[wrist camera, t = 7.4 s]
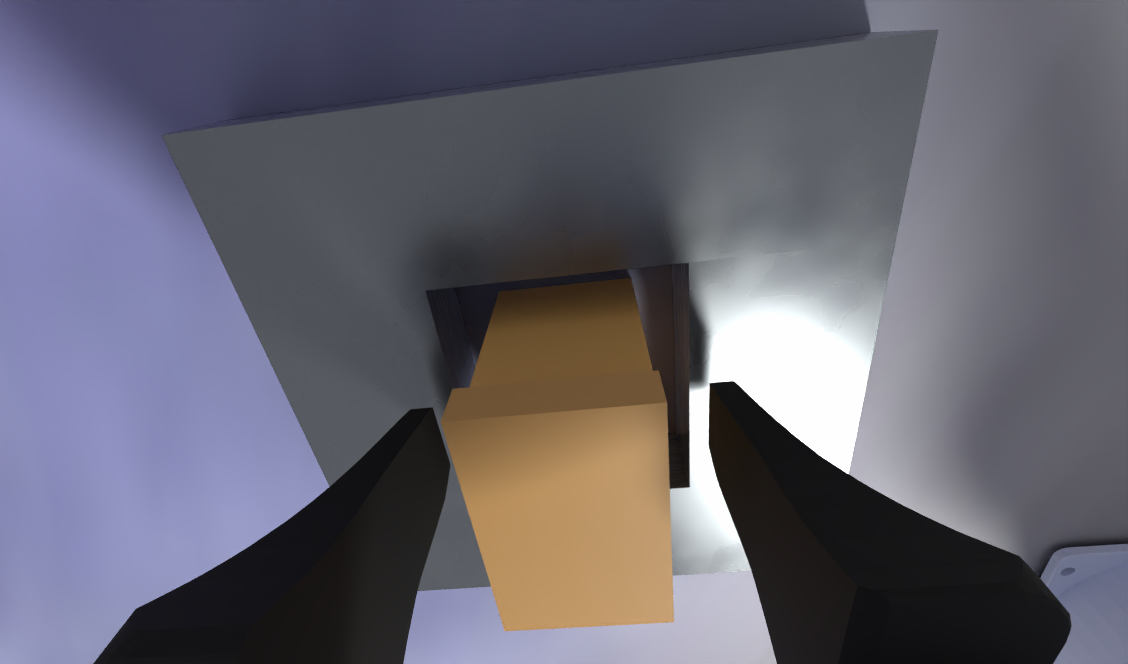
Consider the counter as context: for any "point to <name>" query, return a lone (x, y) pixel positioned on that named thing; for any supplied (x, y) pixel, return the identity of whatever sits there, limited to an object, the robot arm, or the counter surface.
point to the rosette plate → (578, 242)
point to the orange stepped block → (567, 460)
